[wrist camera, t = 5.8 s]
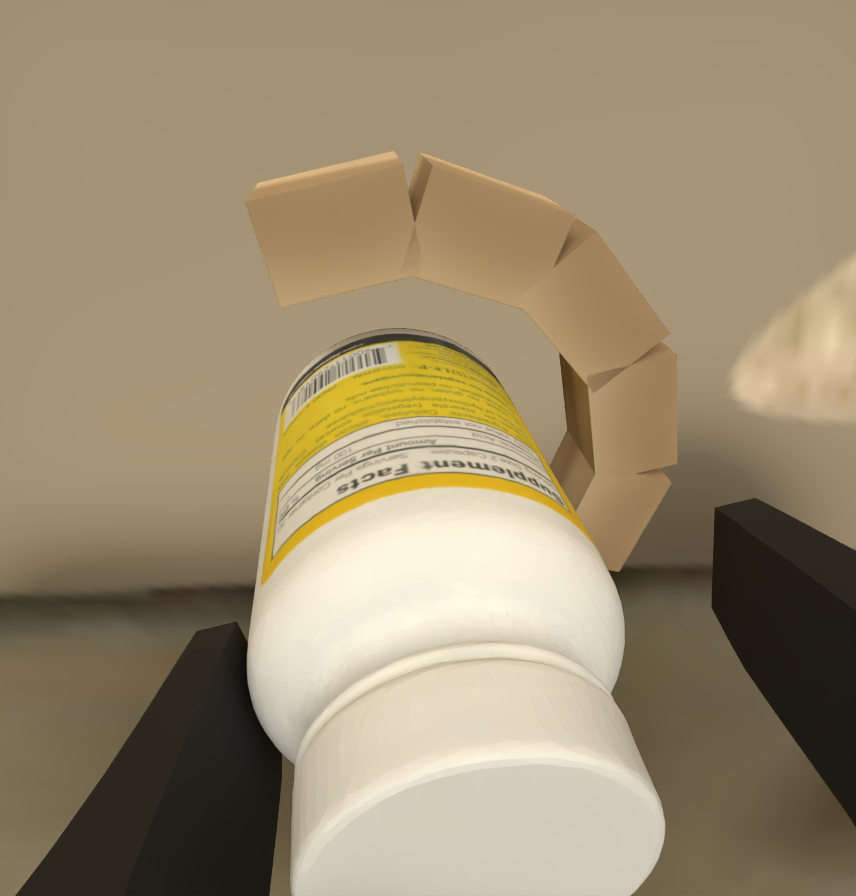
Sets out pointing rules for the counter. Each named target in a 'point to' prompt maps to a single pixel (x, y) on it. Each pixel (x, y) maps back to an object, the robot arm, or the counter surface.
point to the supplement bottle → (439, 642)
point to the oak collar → (505, 281)
